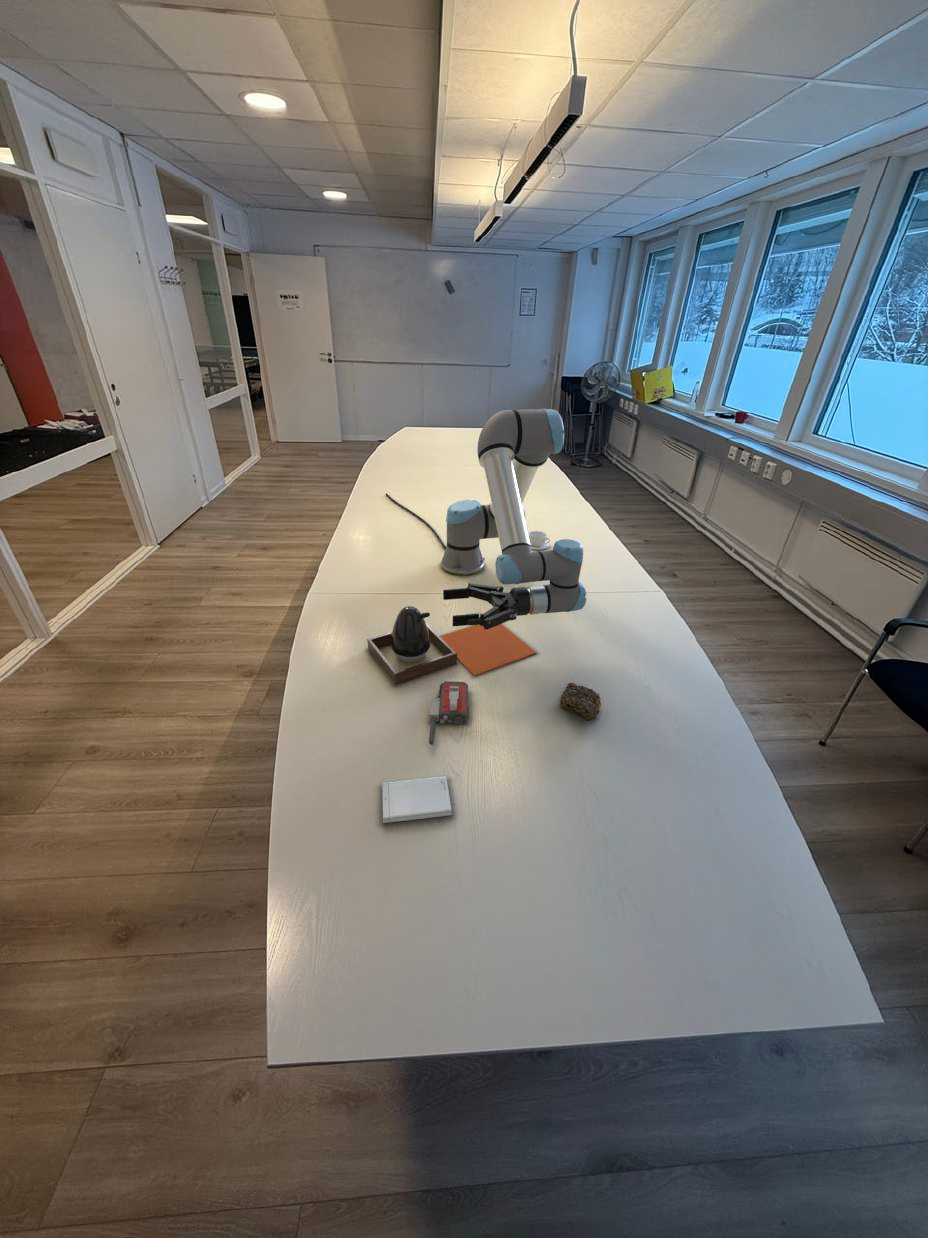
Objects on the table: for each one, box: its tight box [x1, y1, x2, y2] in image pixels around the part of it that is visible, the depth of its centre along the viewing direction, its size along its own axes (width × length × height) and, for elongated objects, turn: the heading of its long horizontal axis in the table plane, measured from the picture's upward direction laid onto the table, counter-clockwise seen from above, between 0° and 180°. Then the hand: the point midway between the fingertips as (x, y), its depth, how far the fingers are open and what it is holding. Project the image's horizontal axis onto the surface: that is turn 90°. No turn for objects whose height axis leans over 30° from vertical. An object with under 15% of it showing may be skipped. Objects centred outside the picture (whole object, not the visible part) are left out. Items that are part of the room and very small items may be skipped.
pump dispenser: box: [390, 605, 431, 664], centre depth 129 cm, size 10×10×15 cm
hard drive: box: [381, 775, 453, 824], centre depth 94 cm, size 2×8×12 cm
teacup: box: [528, 530, 551, 550], centre depth 198 cm, size 10×10×5 cm
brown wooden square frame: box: [366, 621, 458, 686], centre depth 132 cm, size 18×18×4 cm
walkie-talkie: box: [428, 680, 469, 746], centre depth 113 cm, size 9×4×20 cm
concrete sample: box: [559, 682, 602, 721], centre depth 116 cm, size 12×10×5 cm
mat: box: [439, 622, 537, 677], centre depth 138 cm, size 20×20×1 cm
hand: (447, 607), depth 128 cm, fingers open, 13 cm apart
